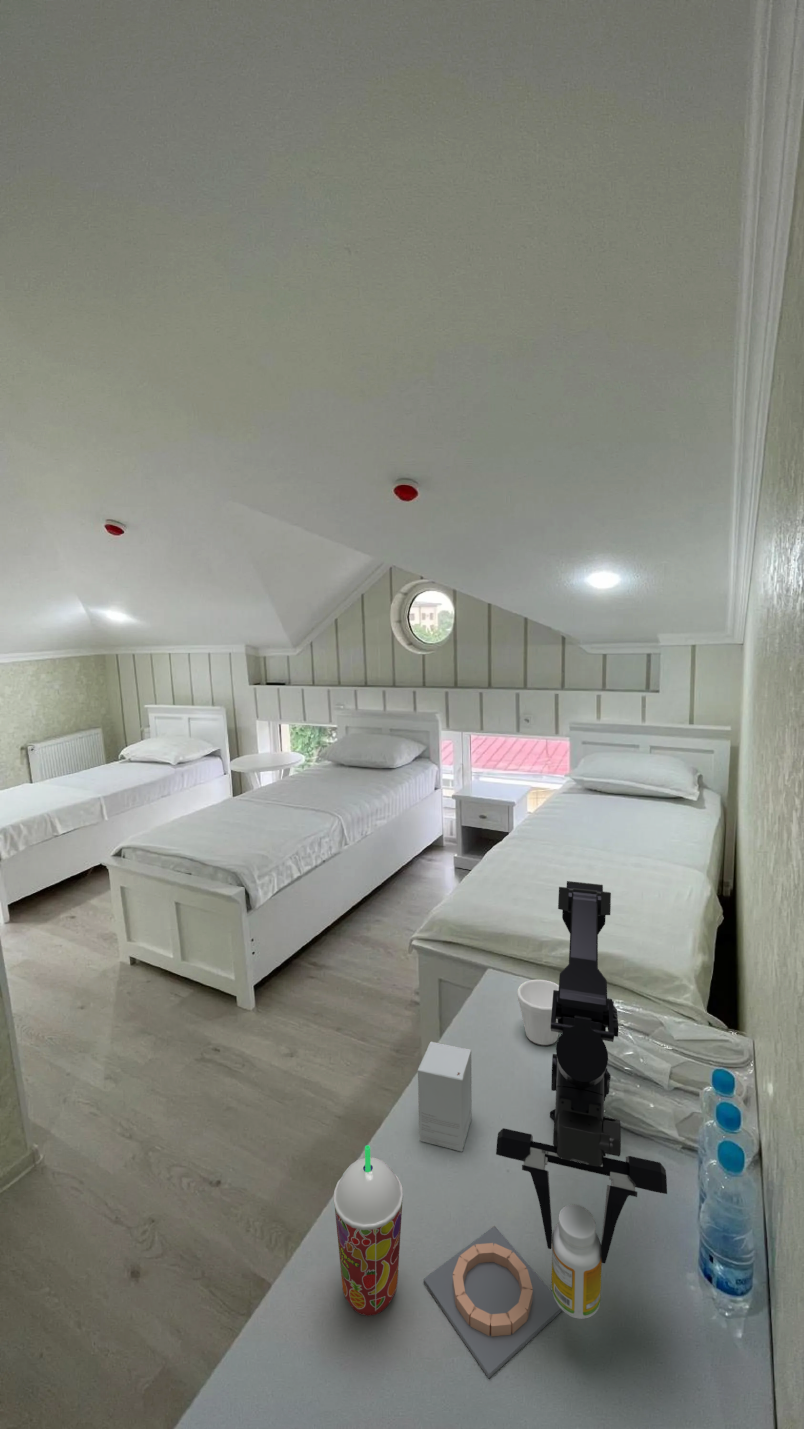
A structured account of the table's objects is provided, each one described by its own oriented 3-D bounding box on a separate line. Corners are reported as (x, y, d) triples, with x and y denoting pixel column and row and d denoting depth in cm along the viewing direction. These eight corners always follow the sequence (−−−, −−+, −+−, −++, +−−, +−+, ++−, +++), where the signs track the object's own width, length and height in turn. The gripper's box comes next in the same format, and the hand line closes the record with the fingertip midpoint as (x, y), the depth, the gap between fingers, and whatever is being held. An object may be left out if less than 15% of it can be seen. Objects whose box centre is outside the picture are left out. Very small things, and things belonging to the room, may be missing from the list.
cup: (510, 1022, 127) (510, 980, 125) (556, 1018, 128) (558, 977, 127) (525, 1055, 117) (526, 1011, 116) (575, 1051, 118) (576, 1007, 117)
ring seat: (494, 1229, 83) (494, 1216, 83) (563, 1309, 73) (563, 1295, 73) (423, 1283, 77) (423, 1269, 76) (488, 1378, 67) (489, 1363, 66)
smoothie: (328, 1273, 78) (323, 1132, 75) (388, 1246, 81) (387, 1111, 78) (348, 1342, 70) (345, 1189, 67) (414, 1310, 74) (413, 1163, 71)
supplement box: (472, 1118, 102) (473, 1049, 100) (462, 1154, 95) (462, 1080, 94) (430, 1107, 105) (430, 1039, 103) (417, 1141, 98) (416, 1069, 96)
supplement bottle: (597, 1273, 72) (599, 1201, 70) (603, 1325, 66) (606, 1248, 65) (549, 1266, 73) (550, 1194, 71) (552, 1316, 67) (553, 1240, 66)
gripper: (499, 1068, 72) (483, 1238, 64) (669, 1101, 67) (678, 1291, 58) (506, 1080, 81) (493, 1231, 72) (657, 1110, 76) (664, 1277, 67)
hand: (576, 1255), depth 67 cm, fingers closed on supplement bottle, 5 cm apart
